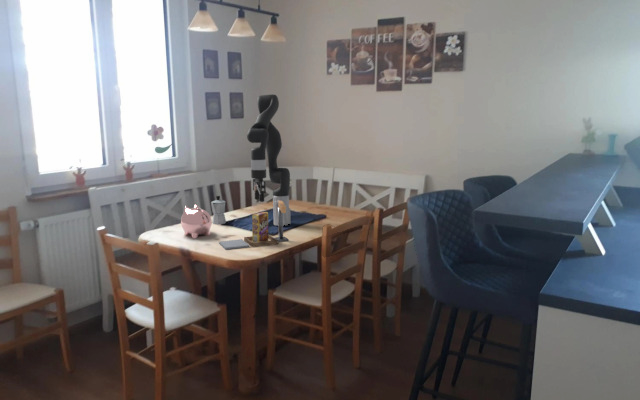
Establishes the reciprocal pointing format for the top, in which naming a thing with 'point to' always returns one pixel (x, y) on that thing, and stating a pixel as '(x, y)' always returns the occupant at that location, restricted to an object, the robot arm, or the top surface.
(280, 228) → the post
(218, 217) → the coffee maker
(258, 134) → the robot arm
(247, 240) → the wooden tray
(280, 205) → the arm
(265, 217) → the candy box
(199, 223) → the piggy bank
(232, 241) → the mat
